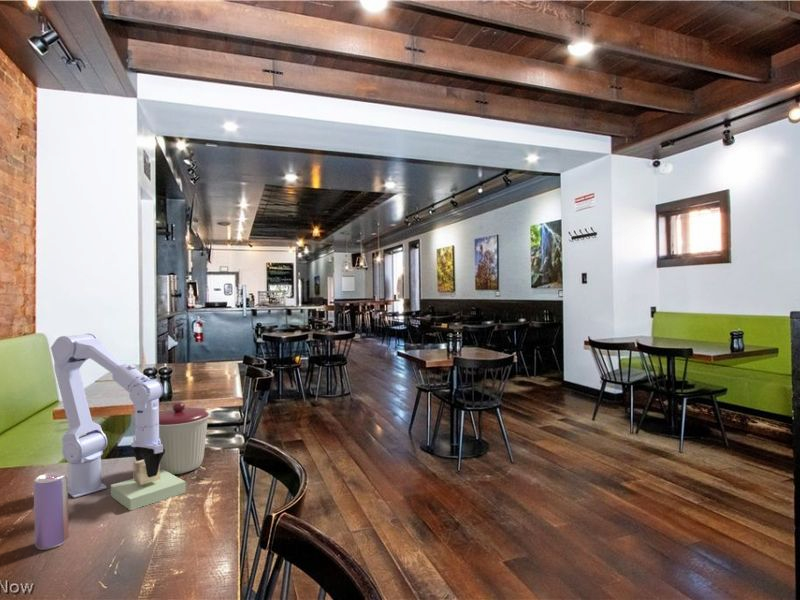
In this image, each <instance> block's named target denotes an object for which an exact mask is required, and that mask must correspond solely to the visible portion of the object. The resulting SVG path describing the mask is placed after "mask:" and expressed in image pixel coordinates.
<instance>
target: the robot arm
mask: <svg viewBox="0 0 800 600" xmlns="http://www.w3.org/2000/svg"><path fill="white" fill-rule="evenodd" d="M50 350H51V354H52V357H53V362H54V366H53V367H54V371H55V372H54V373H55V376H56V380H57V384H58V389H59V393H60V396H61V400H62V405H63V407H64V408H63V409H64V412H65V417H66V421H67V424H68V430H67V431H66V432H65V433H64V434H63V436H62V438H61V441H62V449H61V453H62V457H64V459H65V460H66V461H67V463H68V464H67V478H68V495H70V496H71V497H72V498H79V497H81V496H85V495H88V494H92V493H96V492H99V491H102V490H105V489H107V485H106V484H104V483H102V455H104V452H103V451H104V450H105V449H106V448H107V447H108V438H107V435H106V434H105V433H104V431H103V430H102V429H103V428H102V426H101V425H100V424H98V423H96V422H95V421H93V419H92V415H91V411H90V407H89V404H88V399H87V396H86V392H85V391H86V389H85V387H84V382H83V378H82V375H81V372H80V368H81V367H82V366H83V364H84V363H85V362H87V360H92V361H93V362H95V363H97V364H98V365H99V366H101V367H102V368H104V369H105V370H107V371H108V372H109V373H111V374H112V380H113V381H114V382H115V383H116V384H117V385H119V386H120V387H121V388H123V389H124V390H125V391H126V392H128V393H129V398H130V400H131V402H132V404H133V410H134V413H135V414H134V416H135V418H134V421H135V422H134V426H135V430H134V431H135V435H134V436H133V439H132V440H133V441H132V443H130V446H131V447H130V451H131V452H132V454H133V456H134V458H135V462H136V461H140V460H144V461H145V465H146V471H147V475H148V477H152V476H156V475H157V472H158V468H159V464H160V461H161V458H162V456H163V455H164V453H165V449H163V445H162V444H161V441H160V438H159V412H160V404H159V403H160V402H159V401H160V398H161V397H162V396H163V393H164V387H163V384H162V383H161V382H160V380H159V379H157V378H150V377H148V376H147V375H145V374H144V373H142V372H141V371H140V370H138V369H137V366H136V365H134V364H131V363H122V361H120V360H119V359H118V358H117V357H116V356H115V355H114V354H112V352H111V351H109V350H108V349H107V348H106V347H105V346H104V345H103V341H102V340H101V339H100V338H98V337H97V335H95V334H93V333H84V334H77V335H62V336H59V337H57V338H56V339H55V340H54V342H53V344H52V345H51V347H50Z"/></svg>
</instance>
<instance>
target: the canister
mask: <svg viewBox="0 0 800 600" xmlns="http://www.w3.org/2000/svg"><path fill="white" fill-rule="evenodd" d="M210 416H211V413H210V412H209V411H207V410H204V409H203V408H199V407H186V405H185V403H184V402H181V401H180V402H175V403H173V405H172V409H167V410H162V411H159V438H160V441H161V444H162V445H163V449H165V453H164V455H163V456H162V458H161V461H160V471H161V470H165V471H167V472H169V473H171V474H172V475H174V476H175V475H181V474H186V473H188V472H191V471H194V470H196V469H198V468H199V467H200V466H201V464H202V463H203V459H204V456H205V449H206V448H205V447H206V439H207V430H208V421H209V420H208V419H209V417H210Z"/></svg>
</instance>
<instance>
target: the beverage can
mask: <svg viewBox="0 0 800 600" xmlns="http://www.w3.org/2000/svg"><path fill="white" fill-rule="evenodd" d="M33 512H34V513H33V514H34V515H33V516H34V518H33V519H34V524H33V525H34V547H36V549H38V550H41V551H46V550H51V549H52V550H53V549H54V548H57V546H58V547H60V546H61V545H62V546H63V544H65V543H66V541H68V538H69V536H70V533H69V527H70V526H69V525H70V524H69V493H68V475H67V472H66V471H52V472H47V473H43V474H41V475H38V476H37V477H36V478H34V483H33Z"/></svg>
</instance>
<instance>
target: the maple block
mask: <svg viewBox="0 0 800 600" xmlns="http://www.w3.org/2000/svg"><path fill="white" fill-rule="evenodd" d="M132 477H133V478H132V479H133V481H135V482H137V483H138V484H140V485H143V484H146V483H149V482H153V481H156V480H159V479H160V464H159V468H158V472H157V475H156V476H152V477H148V475H147V471H146V465H145V461H144V460H140V461H136V460H135V461H133V462H132Z"/></svg>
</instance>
